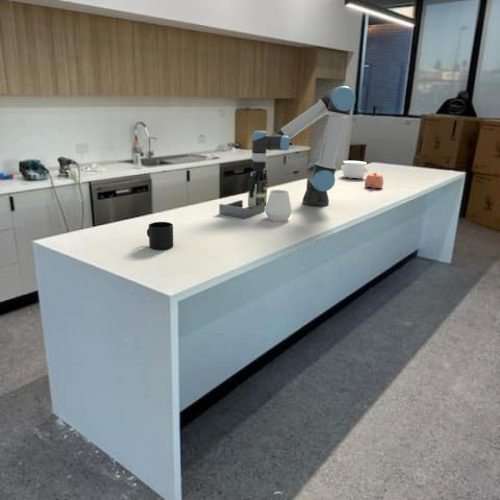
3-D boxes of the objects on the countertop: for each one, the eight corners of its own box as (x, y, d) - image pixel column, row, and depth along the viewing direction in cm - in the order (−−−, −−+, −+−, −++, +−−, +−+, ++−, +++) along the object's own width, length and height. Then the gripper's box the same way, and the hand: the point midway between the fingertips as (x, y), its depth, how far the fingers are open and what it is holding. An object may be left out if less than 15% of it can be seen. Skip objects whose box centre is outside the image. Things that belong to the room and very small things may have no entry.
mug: (155, 240, 191) (154, 219, 188) (178, 245, 186) (177, 224, 183) (139, 246, 183) (138, 224, 180) (162, 251, 178) (162, 229, 175)
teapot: (384, 187, 324) (386, 172, 321) (378, 191, 310) (379, 175, 306) (368, 185, 330) (370, 170, 326) (361, 189, 315) (363, 173, 311)
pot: (335, 177, 357) (336, 161, 353) (344, 175, 370) (346, 159, 366) (362, 181, 345) (363, 164, 341) (370, 178, 358) (372, 162, 354)
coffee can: (267, 204, 256) (269, 179, 252) (264, 208, 247) (265, 182, 242) (249, 203, 258) (250, 178, 254) (245, 207, 249) (246, 181, 244)
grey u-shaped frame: (264, 211, 245) (264, 202, 243) (244, 218, 229) (244, 209, 227) (240, 207, 252) (240, 198, 251) (219, 214, 237) (219, 204, 235)
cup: (294, 217, 235) (295, 190, 230) (287, 223, 223) (289, 195, 218) (269, 214, 239) (270, 188, 234) (261, 220, 227) (262, 192, 222)
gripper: (263, 158, 256) (262, 197, 263) (241, 162, 237) (240, 204, 245) (275, 159, 252) (273, 199, 259) (253, 163, 234) (252, 206, 241)
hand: (257, 201), depth 252 cm, fingers closed on coffee can, 10 cm apart
